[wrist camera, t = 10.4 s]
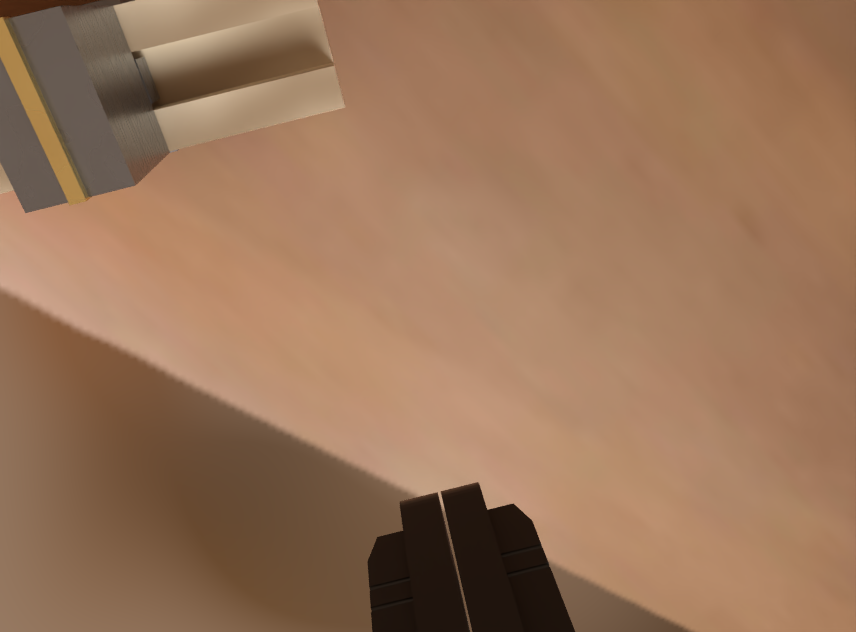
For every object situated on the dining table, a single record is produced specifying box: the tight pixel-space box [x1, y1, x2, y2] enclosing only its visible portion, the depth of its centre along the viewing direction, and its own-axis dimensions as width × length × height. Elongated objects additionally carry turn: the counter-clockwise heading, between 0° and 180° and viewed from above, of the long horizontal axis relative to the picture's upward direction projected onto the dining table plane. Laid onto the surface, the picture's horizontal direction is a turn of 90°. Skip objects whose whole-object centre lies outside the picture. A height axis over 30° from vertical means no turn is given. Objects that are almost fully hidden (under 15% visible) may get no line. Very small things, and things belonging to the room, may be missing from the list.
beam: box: [0, 0, 345, 194], centre depth 31 cm, size 7×21×6 cm, turn 102°
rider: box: [0, 5, 170, 213], centre depth 26 cm, size 6×4×8 cm, turn 13°
